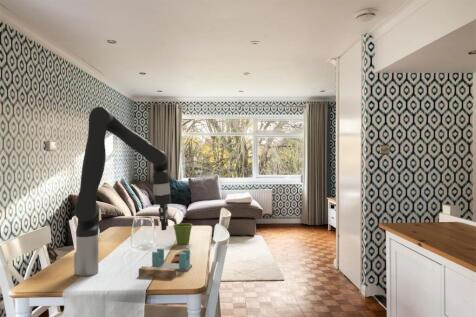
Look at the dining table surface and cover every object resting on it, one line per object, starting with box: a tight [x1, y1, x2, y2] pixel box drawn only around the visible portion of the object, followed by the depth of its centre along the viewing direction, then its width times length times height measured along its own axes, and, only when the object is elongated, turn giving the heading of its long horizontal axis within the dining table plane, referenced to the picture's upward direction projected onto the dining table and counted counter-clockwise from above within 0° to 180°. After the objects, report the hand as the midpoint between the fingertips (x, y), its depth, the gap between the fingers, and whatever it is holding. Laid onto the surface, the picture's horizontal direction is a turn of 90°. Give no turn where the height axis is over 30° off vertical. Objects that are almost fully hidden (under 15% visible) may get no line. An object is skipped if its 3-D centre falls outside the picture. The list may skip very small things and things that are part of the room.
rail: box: [138, 266, 177, 279], centre depth 159 cm, size 16×4×4 cm, turn 80°
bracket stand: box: [150, 248, 193, 272], centre depth 171 cm, size 18×8×8 cm, turn 81°
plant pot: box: [172, 222, 193, 246], centre depth 220 cm, size 12×12×11 cm
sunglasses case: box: [170, 248, 190, 264], centre depth 186 cm, size 18×7×7 cm, turn 3°
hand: (165, 228), depth 168 cm, fingers open, 8 cm apart
